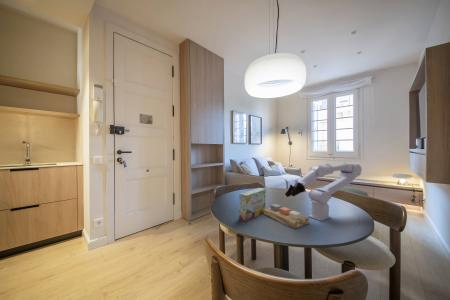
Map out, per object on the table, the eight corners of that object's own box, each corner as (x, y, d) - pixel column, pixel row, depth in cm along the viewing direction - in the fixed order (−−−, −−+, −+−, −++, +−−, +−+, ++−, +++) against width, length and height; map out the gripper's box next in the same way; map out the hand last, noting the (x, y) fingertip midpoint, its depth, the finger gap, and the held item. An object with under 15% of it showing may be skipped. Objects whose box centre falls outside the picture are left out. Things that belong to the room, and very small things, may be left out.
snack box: (246, 222, 97) (246, 195, 96) (238, 219, 100) (238, 193, 100) (265, 211, 112) (265, 188, 112) (258, 209, 116) (258, 187, 116)
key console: (277, 210, 114) (277, 206, 114) (308, 223, 95) (308, 217, 95) (264, 214, 108) (263, 209, 108) (294, 228, 89) (294, 222, 89)
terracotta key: (284, 213, 105) (284, 207, 104) (290, 216, 101) (290, 209, 101) (279, 215, 102) (279, 208, 102) (285, 217, 99) (285, 210, 98)
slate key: (275, 210, 111) (275, 203, 111) (281, 212, 107) (281, 205, 107) (270, 211, 108) (270, 205, 108) (276, 213, 105) (276, 207, 105)
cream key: (294, 217, 99) (294, 210, 98) (301, 220, 95) (301, 213, 95) (289, 219, 96) (289, 212, 96) (296, 222, 92) (296, 214, 92)
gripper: (295, 176, 108) (279, 190, 105) (307, 172, 94) (289, 188, 91) (303, 186, 106) (287, 200, 104) (316, 183, 93) (298, 199, 90)
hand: (288, 195), depth 97 cm, fingers open, 7 cm apart
